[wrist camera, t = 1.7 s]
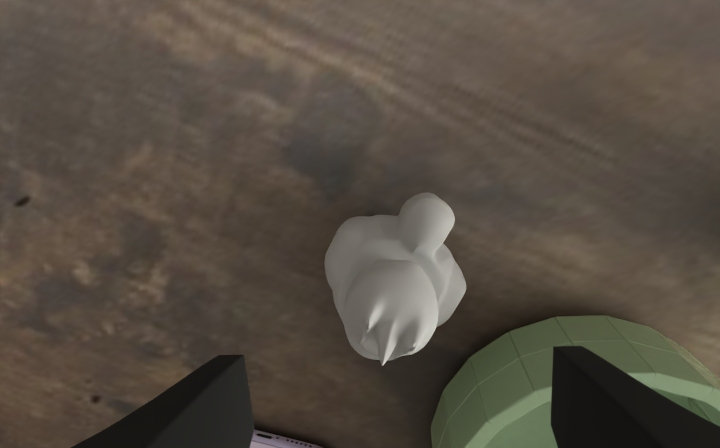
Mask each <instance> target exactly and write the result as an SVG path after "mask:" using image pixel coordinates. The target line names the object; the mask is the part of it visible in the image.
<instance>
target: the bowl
mask: <svg viewBox="0 0 720 448" xmlns="http://www.w3.org/2000/svg"><path fill="white" fill-rule="evenodd" d="M553 346H583V347H585V348H586V349H588V350H590V351H592V352H593V353H595V354H597V355H598V356H600V357H602V358H603V359H605V360H606V361H608V362H609V363H611V364H613V365H614V366H616V367H617V368H619V369H621V370H622V371H624V372H625V373H627V374H628V375H630V376H632V377H633V378H635V379H636V380H638V381H640V382H641V383H643V384H644V385H646V386H648V387H649V388H651V389H653V390H654V391H656V392H658V393H659V394H661V395H663V396H665V397H666V398H668V399H670V400H671V401H673V402H675V403H677V404H678V405H680V406H682V407H684V408H686V409H688V410H689V411H691V412H693V413H695V414H697V415H699V416H700V417H702V418H704V419H706V420H708V421H710V422H712V423H714V424H716V425H718V426H720V380H719V379H718V378H717V377H716V376H715V375H714V374H713V373H712V372H711V371H710V370H709V369H707V368H706V367H705V366H704V365H703V364H702V363H701V362H700V361H699V360H698V359H696V358H695V357H694V356H693V355H692V354H691V353H690V352H689V351H687V350H686V349H684V348H683V347H681V346H680V345H678V344H677V343H675V342H673V341H672V340H670V339H669V338H667V337H666V336H664V335H662V334H661V333H659V332H658V331H656V330H655V329H653V328H651V327H648V326H644V325H641V324H637V323H633V322H629V321H625V320H621V319H617V318H614V317H610V316H606V315H604V316H603V315H592V316H560V317H555V318H554V317H552V318H549V319H546V320H543V321H540V322H537V323H533V324H530V325H527V326H524V327H521V328H518V329H514V330H511V331H509V333H508V332H506V333H505V334H503V335H502V336H500V337H499V338H497V339H496V340H494V341H493V342H491V343H490V344H488V345H487V346H485V347H484V348H482V349H481V350H480V351H478V352H477V353H475V354H474V355H472V356H471V357H470V358H468V360H467V361H466V362H465V364H464V365H463V366H462V367H461V369H460V370H459V371H458V372H457V374H456V375H455V376H454V377H453V379H452V380H451V381H450V382H449V384H448V385H447V386H446V387H445V389H444V391H443V392H442V395H441V398H440V401H439V404H438V406H437V409H436V412H435V415H434V418H433V421H432V424H431V429H430V430H431V448H558V447H557V443H556V440H555V437H554V434H553V431H552V427H551V396H552V368H553Z"/></svg>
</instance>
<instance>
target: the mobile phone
mask: <svg viewBox="0 0 720 448" xmlns="http://www.w3.org/2000/svg"><path fill="white" fill-rule="evenodd" d="M250 448H323V447H321V446H318V445H314V444H310V443H306V442H302V441H298V440H294V439H290V438H286V437H282V436H278V435H274V434H270V433H266V432H262V431H258V430H254V433H253V437H252V440H251V444H250Z"/></svg>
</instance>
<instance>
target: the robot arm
mask: <svg viewBox="0 0 720 448" xmlns="http://www.w3.org/2000/svg"><path fill="white" fill-rule="evenodd" d="M551 427H552V431H553V434H554V437H555V440H556V443H557V447H558V448H720V426H718V425H716V424H714V423H712V422H710V421H708V420H706V419H704V418H702V417H700V416H699V415H697V414H695V413H693V412H691V411H689V410H688V409H686V408H684V407H682V406H680V405H678V404H677V403H675V402H673V401H671V400H670V399H668V398H666V397H665V396H663V395H661V394H659V393H658V392H656V391H654V390H653V389H651V388H649V387H648V386H646V385H644V384H643V383H641V382H640V381H638V380H636V379H635V378H633V377H632V376H630V375H628V374H627V373H625V372H624V371H622V370H621V369H619V368H617V367H616V366H614V365H613V364H611V363H609V362H608V361H606V360H605V359H603V358H602V357H600V356H598V355H597V354H595V353H593V352H592V351H590V350H588V349H586V348H585V347H583V346H553V368H552V396H551ZM254 429H255V427H254V420H253V413H252V406H251V400H250V393H249V386H248V379H247V373H246V366H245V359H244V355H219V356H217V357H215V358H213V359H212V360H210V361H209V362H207V363H205V364H204V365H202V366H201V367H199V368H198V369H196V370H195V371H194V372H192V373H191V374H189V375H188V376H186V377H185V378H183V379H182V380H181V381H179V382H178V383H176V384H175V385H173V386H172V387H170V388H169V389H167V390H166V391H165V392H163V393H162V394H160V395H159V396H157V397H156V398H154V399H153V400H151V401H150V402H148V403H146V404H145V405H143V406H142V407H140V408H139V409H137V410H135V411H134V412H132V413H131V414H129V415H128V416H126V417H124V418H123V419H121V420H120V421H118V422H116V423H115V424H113V425H111V426H110V427H108V428H106V429H104V430H103V431H101V432H99V433H97V434H96V435H94V436H92V437H90V438H88V439H86V440H84V441H82V442H81V443H79V444H77V445H75V446H73V447H71V448H250V444H251V440H252V437H253V433H254Z"/></svg>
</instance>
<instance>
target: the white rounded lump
mask: <svg viewBox="0 0 720 448" xmlns="http://www.w3.org/2000/svg"><path fill="white" fill-rule="evenodd" d="M454 221H455V218H454V214H453V212H452V210H451V208H450V207H449V206H448V205H447V203H446V202H444V201H443V200H441V199H440V198H439V197H437V196H436V195H435V194H432V193H420V194H417V195H415V196H413V197H411V198H410V199H408V200H407V201H406V202H405V204H404V205H403V207H402V208H401V210H400V213H399V215H398V216H392V215H375V216H371V217H367V216H357V217H352V218H350V219H348V220H346V221H345V222H344V223H343V224H342V225H341V226H340V227H339V229H338V231H337V232H336V234H335V236H334V238H333V240H332V242H331V244H330V246H329V248H328V250H327V253H326V256H325V272H326V277H327V281H328V283H329V285H330V287H331V289H332V291H333V299H334V303H335V306H336V309H337V311H338V313H339V315H340V318H341V320H342V322H343V324H344V327H345V332H346V335H347V338H348V340H349V343H350V344H351V346H352V347H353V348H354V350H355V351H356V352H358V353H359V354H360V355H362V356H364V357H366V358H369V359H375V360H380V362H381V365H382V366H383V365H384V364H385V363H386V361H387V360H394V359H396V358H398V357H400V356H404V355H411V354H414V353H416V352H418V351H419V350H420V349H422V348H423V347H424V346H425V345H426V344H427V343H428V341H429V340H430V338H431V337H432V335H433V333H434V331H435V329H436V327H437V326H440V325H441V324H443V323H444V322H446V321H447V320H448V319H449V318H450V317H451V315H452V314H453V312H454V310H455V309H456V307H457V305H458V304H459V302H460V301H461V299H462V297H463V296H464V294H465V291H466V282H465V279H464V276H463V274H462V271H461V269H460V267H459V266H458V264H457V263H456V261H455V260H454V258H453V256H452V254H451V252H450V250H449V249H448V248H447V247H446V246H445V245H444V243H443V242H444V240H445V239H446V237H447V236H448V234H449V232H450V231H451V229H452V227H453V225H454Z"/></svg>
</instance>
